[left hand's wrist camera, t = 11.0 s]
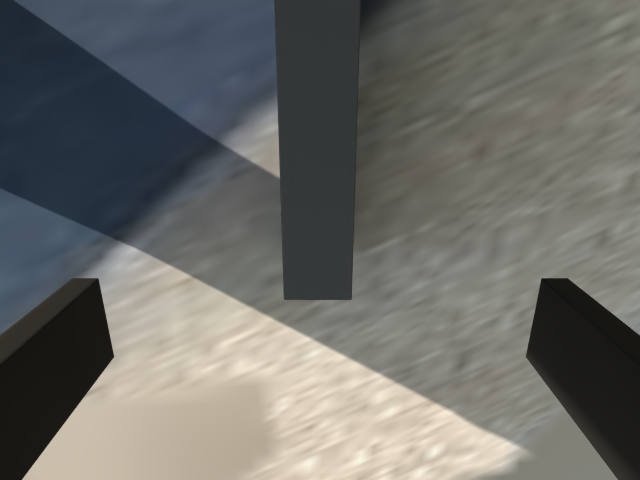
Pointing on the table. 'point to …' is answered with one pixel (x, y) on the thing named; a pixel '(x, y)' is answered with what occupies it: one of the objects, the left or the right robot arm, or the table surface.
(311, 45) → the beam
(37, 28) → the table surface
